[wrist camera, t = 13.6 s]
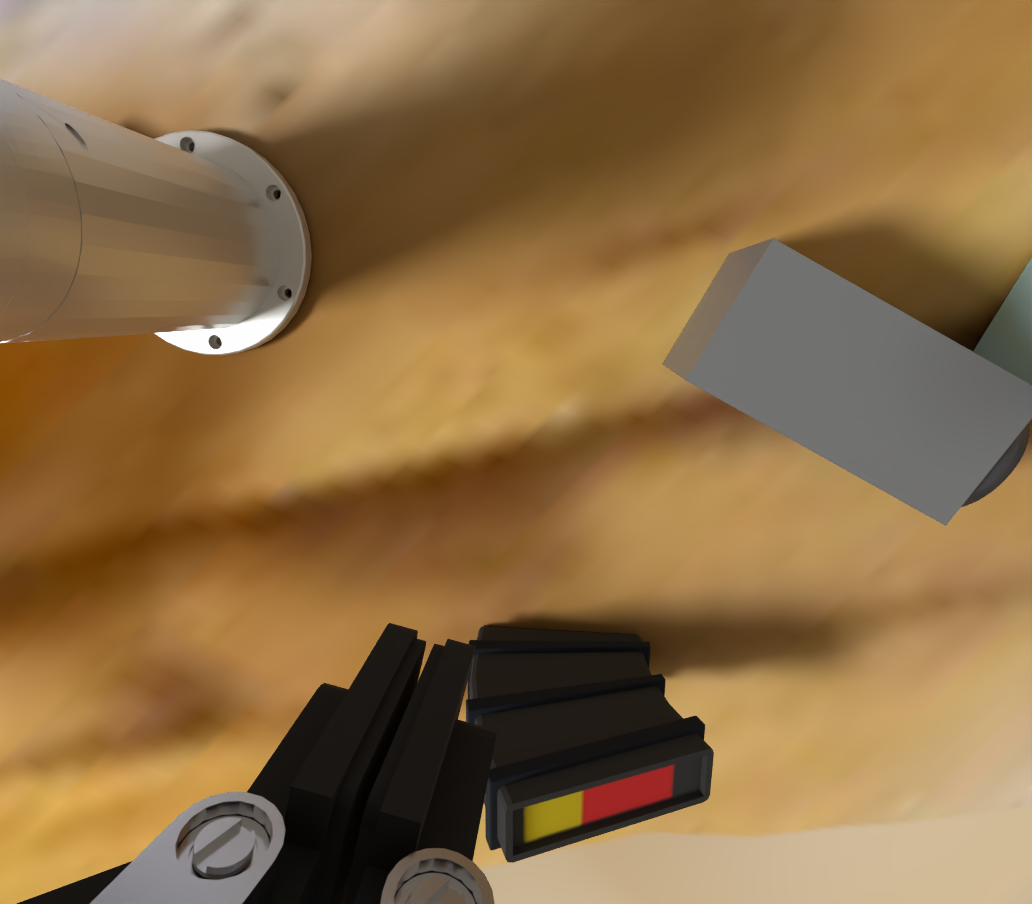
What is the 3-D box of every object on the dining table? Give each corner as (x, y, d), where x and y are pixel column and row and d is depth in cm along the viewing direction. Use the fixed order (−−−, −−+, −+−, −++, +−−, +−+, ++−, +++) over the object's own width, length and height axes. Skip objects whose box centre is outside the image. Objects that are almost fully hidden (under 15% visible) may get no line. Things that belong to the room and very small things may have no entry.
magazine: (426, 629, 40) (497, 801, 26) (606, 598, 44) (750, 731, 30) (428, 680, 40) (498, 873, 27) (604, 645, 45) (743, 794, 31)
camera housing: (662, 363, 36) (685, 379, 28) (730, 251, 34) (775, 235, 26) (884, 488, 36) (967, 538, 28) (963, 383, 34) (1075, 406, 27)
